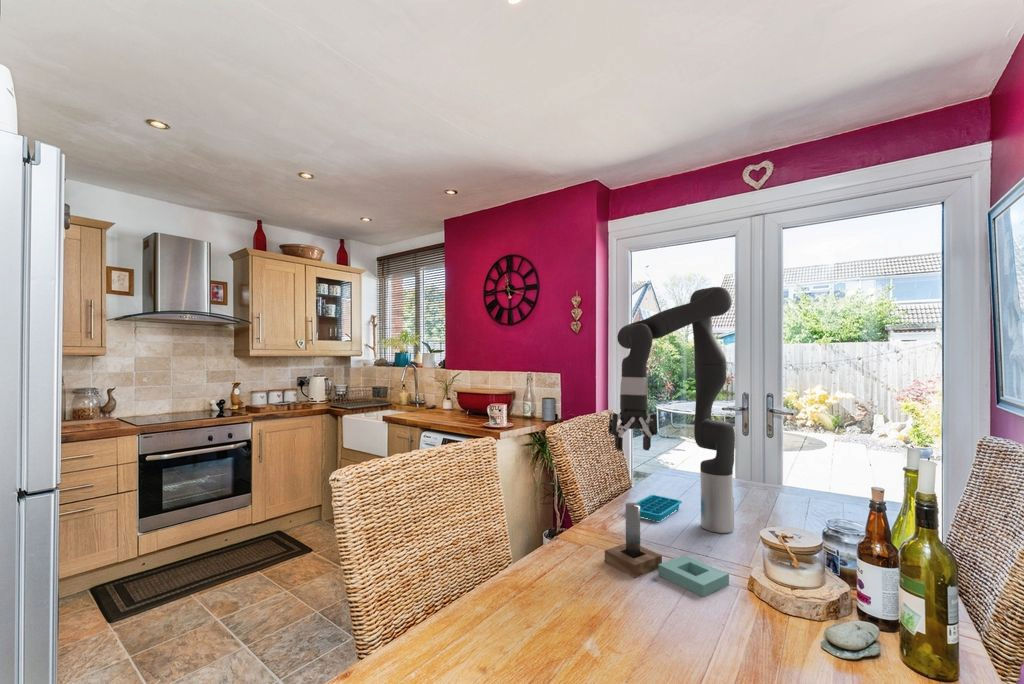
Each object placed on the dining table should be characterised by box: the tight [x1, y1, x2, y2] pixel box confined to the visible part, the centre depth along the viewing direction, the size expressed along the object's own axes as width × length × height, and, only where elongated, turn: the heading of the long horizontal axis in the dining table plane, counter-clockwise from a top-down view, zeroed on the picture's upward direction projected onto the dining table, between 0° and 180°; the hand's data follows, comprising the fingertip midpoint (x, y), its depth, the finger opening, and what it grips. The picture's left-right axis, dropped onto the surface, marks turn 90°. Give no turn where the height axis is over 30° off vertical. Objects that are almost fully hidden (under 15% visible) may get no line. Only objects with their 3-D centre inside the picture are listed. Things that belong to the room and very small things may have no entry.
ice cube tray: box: [635, 494, 683, 522], centre depth 153 cm, size 12×20×3 cm, turn 139°
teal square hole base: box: [657, 554, 730, 598], centre depth 106 cm, size 10×12×2 cm
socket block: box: [604, 543, 663, 579], centre depth 113 cm, size 10×10×3 cm
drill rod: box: [625, 502, 641, 558], centre depth 113 cm, size 4×4×15 cm
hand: (632, 450), depth 127 cm, fingers open, 8 cm apart
